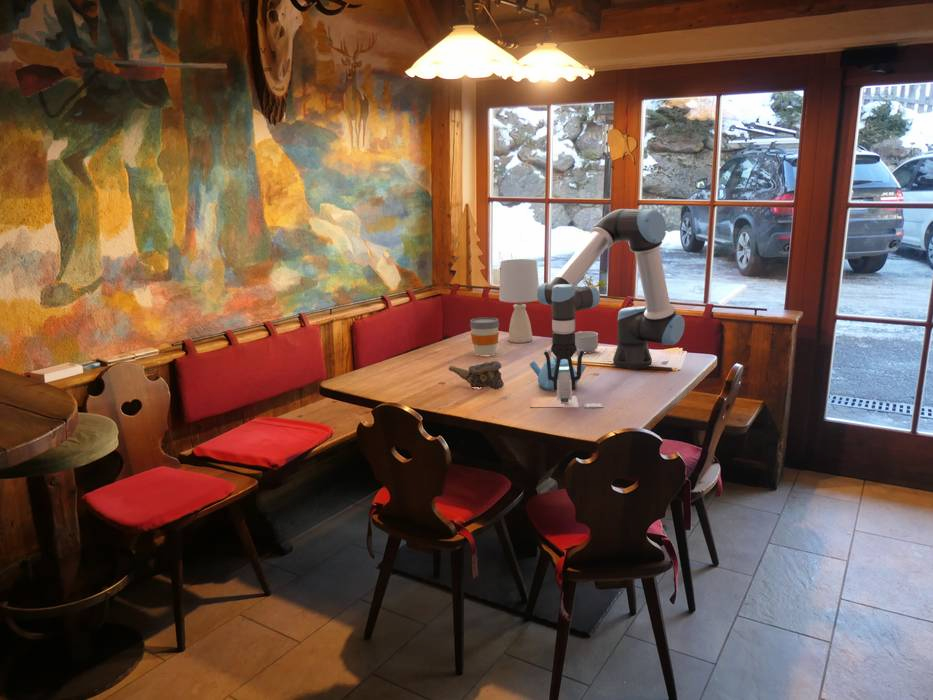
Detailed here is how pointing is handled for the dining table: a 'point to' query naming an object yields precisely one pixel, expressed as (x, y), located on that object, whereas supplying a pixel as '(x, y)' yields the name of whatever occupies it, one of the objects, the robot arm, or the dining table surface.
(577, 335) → the teacup
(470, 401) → the dining table surface
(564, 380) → the grey rectangular block
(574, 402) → the paper
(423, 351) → the dining table surface
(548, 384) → the teapot
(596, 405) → the word card
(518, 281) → the lamp
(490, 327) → the reusable coffee cup
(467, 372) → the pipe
